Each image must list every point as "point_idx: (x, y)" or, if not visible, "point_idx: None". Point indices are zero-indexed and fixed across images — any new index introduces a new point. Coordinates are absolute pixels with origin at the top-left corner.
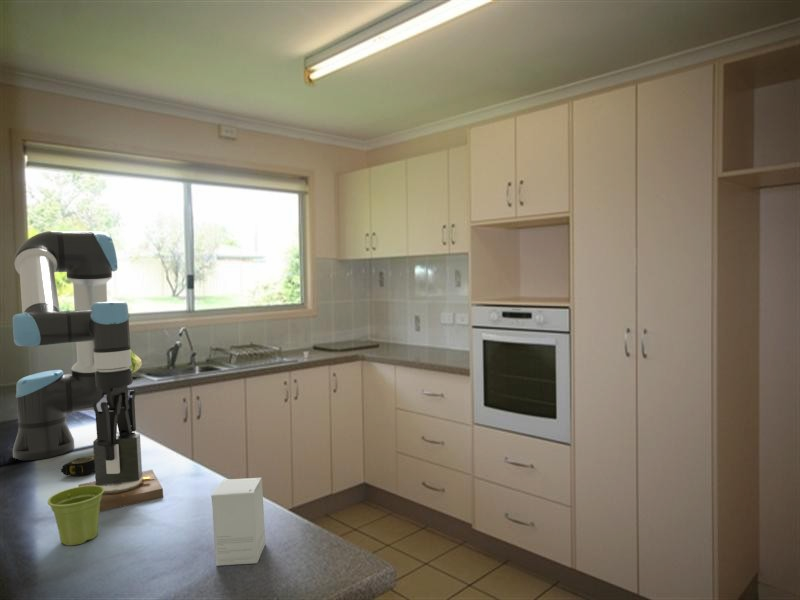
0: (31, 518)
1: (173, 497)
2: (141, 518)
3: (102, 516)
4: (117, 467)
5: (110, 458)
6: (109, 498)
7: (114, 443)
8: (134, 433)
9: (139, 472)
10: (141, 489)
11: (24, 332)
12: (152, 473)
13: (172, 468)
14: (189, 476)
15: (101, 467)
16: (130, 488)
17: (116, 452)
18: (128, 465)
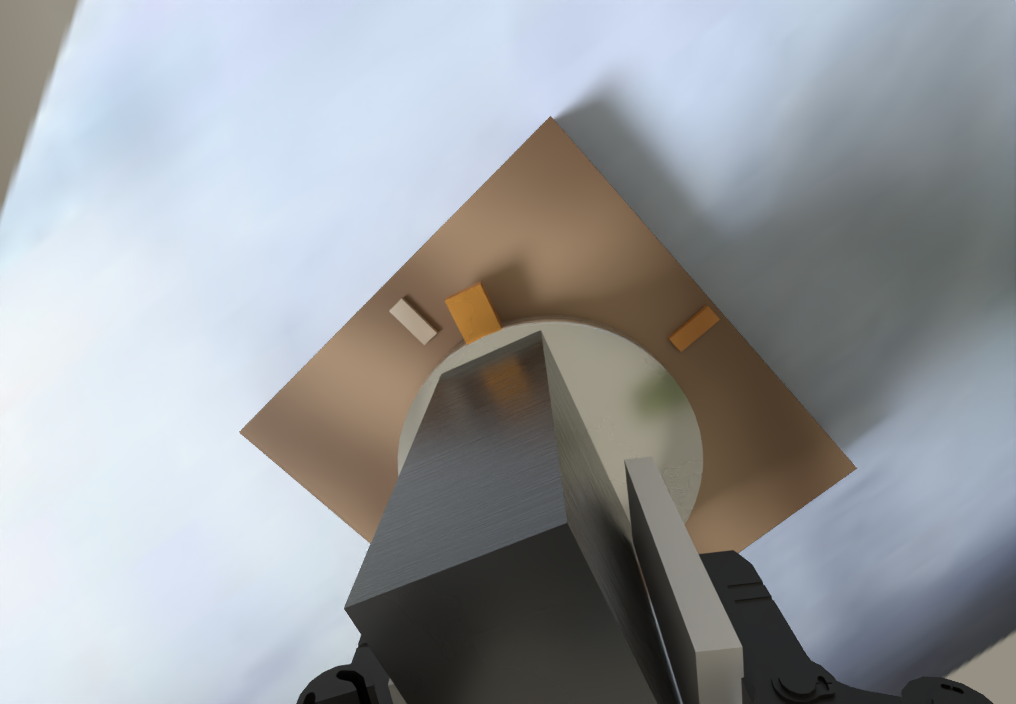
0: (844, 652)
1: (544, 38)
2: (882, 47)
3: (838, 326)
4: (663, 487)
5: (753, 575)
6: (738, 385)
7: (812, 676)
8: (320, 697)
9: (514, 356)
10: (582, 271)
11: None
12: (303, 383)
13: (93, 379)
14: (180, 163)
15: None
16: (621, 332)
17: (709, 582)
18: (578, 440)
